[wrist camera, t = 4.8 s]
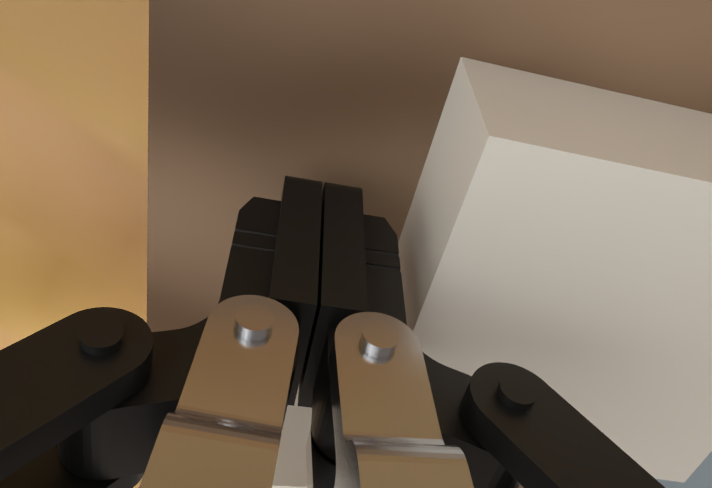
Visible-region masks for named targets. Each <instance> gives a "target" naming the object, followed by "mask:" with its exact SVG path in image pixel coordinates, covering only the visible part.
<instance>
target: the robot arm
mask: <svg viewBox="0 0 712 488" xmlns="http://www.w3.org/2000/svg"><path fill="white" fill-rule="evenodd" d="M322 184H323V183H322V181H316V180H310V179H304V178H298V177H292V176H286V175H285V179H284V184H283V190H282V196H281V201H278V200H272V199H266V198H260V197H253V198H251V199H250V200H249V201H248V202H247V203H246V204H245V205H244V206H243V207H242V208H241V209H240V210H239V213H238V217H237V222H236V226H235V232H234V236H233V240H232V246H231V249H230V254H229V258H228V263H227V268H226V272H225V277H224V281H223V286H222V291H221V295H220V299H219V302H218V305H216V306H215V307H214V308H213V310H212V311H211V312H210V314H209V316H208V317H206V318H205V319H204V320H202V321H200V322H199V323H196V324H194V325H191V326H189V327H185V328H181V329H175V330H167V331H158V332H151V329H150V327H149V326H148V324H147V323H146V322H145V321H144V320H143V319H142V318H140V317H139V316H137V315H136V314H133V313H131V312H129V311H126V310H123V309H118V308H110V307H99V308H91V309H86V310H82V311H79V312H76V313H74V314H72V315H70V316H68V317H66V318H64V319H62V320H60V321H58V322H56V323H54V324H52V325H50V326H48V327H46V328H44V329H42V330H40V331H38V332H36V333H34V334H32V335H30V336H28V337H26V338H24V339H22V340H20V341H18V342H16V343H14V344H12V345H10V346H8V347H6V348H4V349H2V350H0V488H133V487H134V486H135V485H136V484H137V483H138V482H139V481H140V480H141V478H142V477H143V478H142V481H141V484H140V487H139V488H272V485H273V479H274V474H275V468H276V463H277V457H278V452H279V446H280V440H281V434H282V432H281V431H282V429H283V424H284V420H285V415H286V410H287V406H288V405H292V406H294V404H295V400H296V395H297V391H298V386H299V392H298V406H302V407H310V408H312V419H311V427H310V431H309V435H308V439H307V443H306V468H307V488H518V487H519V486H520V484H521V485H522V486H523V487H524V488H665V487H664V486H663V485H662V484H661V483H659V482H658V481H657V480H656V479H655V478H654V477H653V476H652V475H650V474H649V473H648V472H647V471H646V470H645V469H644V468H642V467H641V466H640V465H639V464H638V463H637V462H636V461H634V460H633V459H632V458H631V457H630V456H629V455H628V454H626V453H625V452H624V451H623V450H622V449H621V448H620V447H618V446H617V445H616V444H615V443H614V442H613V441H612V440H610V439H609V438H608V437H607V436H606V435H605V434H604V433H602V432H601V431H600V430H599V429H598V428H597V427H596V426H595V425H593V424H592V423H591V422H590V421H589V420H588V419H587V418H585V417H584V416H583V415H582V414H581V413H580V412H579V411H577V410H576V409H575V408H574V407H573V406H572V405H571V404H569V403H568V402H567V401H566V400H565V399H564V398H563V397H561V396H560V395H559V394H558V393H557V392H556V391H555V390H553V389H552V388H551V387H550V386H549V385H548V384H547V383H545V382H544V381H543V380H542V379H541V378H539V377H538V376H537V375H536V374H534V373H532V372H531V371H529V370H527V369H525V368H523V367H520V366H517V365H515V364H510V363H503V362H493V363H488V364H485V365H483V366H481V367H480V368H478V369H477V370H476V371H475V372H474V373H473V375H472V376H470V375H467V374H465V373H462V372H460V371H457V370H455V369H452V368H450V367H447V366H445V365H443V364H441V363H438V362H437V361H435V360H433V359H432V358H430V357H429V356H428V355H426V354H425V353H424V352H423V351H422V348H421V344H420V341H419V339H418V337H417V336H416V334H415V333H414V332H413V331H412V330H411V329H410V328H409V327H408V326H407V320H406V311H405V302H404V293H403V284H402V275H401V272H400V269H401V266H400V257H399V248H398V239H397V234H396V233H395V232H394V230H393V229H392V227H391V226H390V224H389V223H388V222H387V220H386V219H385V218H384V217H378V216H372V215H365V214H364V213H363V192H362V188H359V187H353V186H347V185H341V184H335V183H329V182H325V183H324V185H323V189H322ZM143 475H144V476H143Z"/></svg>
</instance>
